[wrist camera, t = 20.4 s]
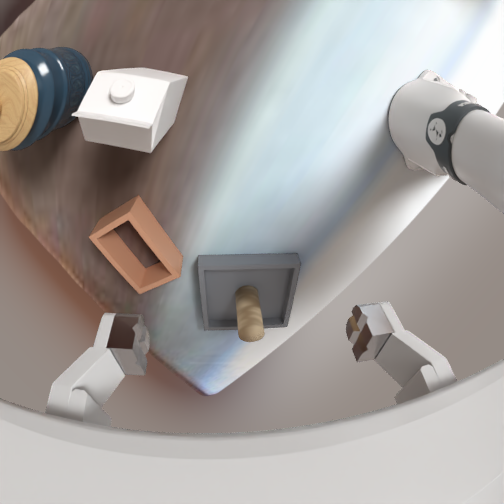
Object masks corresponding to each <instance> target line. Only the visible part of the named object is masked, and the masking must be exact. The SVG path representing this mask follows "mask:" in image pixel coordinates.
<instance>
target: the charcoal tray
mask: <svg viewBox="0 0 504 504" xmlns="http://www.w3.org/2000/svg"><path fill="white" fill-rule="evenodd" d="M300 266H301V262H300V260H299V257H298V254H297V253H286V254H235V255H199V256H198V274H199V285H200V295H201V305H202V314H203V323H204V330H238V322H237V310H236V297H235V292H236V290H237V289H238V288H240V287H242V286H247V285H249V286H253V287H255V288H256V289H257V290H258V295H259V302H260V308H261V314H262V321H263V327H264V328H278V327H287V326H288V321H289V317H290V312H291V308H292V303H293V299H294V294H295V290H296V285H297V280H298V275H299V270H300Z"/></svg>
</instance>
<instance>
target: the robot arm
mask: <svg viewBox="0 0 504 504" xmlns="http://www.w3.org/2000/svg"><path fill="white" fill-rule="evenodd" d="M434 78H435V81H434ZM476 102H477V99H476V98H475V97H473V96H472V95H470V94H466V92H465V91H463V90H461V89H457V88H455V87H454V86H453V85H451V84H450V83H449V82H447V81H446V80H445V79H443V78H442V77H440V76H439V75H438V74H436V73H435V72H433V71H431V70H425V71H424V72H423V73H422V74H421V75H420V76H419V78H417V79H416V80H414V81H411V82H409V83H407V84H405V85H404V86H402V87H401V88H400V89H399V90H398V92H397V93H396V95H395V96H394V98H393V100H392V103H391V106H390V110H389V129H390V134H391V137H392V139H393V141H394V143H395V145H396V146H397V147H398V149H399V150H400V151H401V152H402V154H403V155H404V159H405V162H406V165H407V167H408V168H409V169H411V170H427V171H428V172H430V173H432V174H433V175H435V176H437V177H439V176H440V175H442V176H444V175H449V176H450V177H451V178H452V179H454V180H455V181H458V182H459V183H461V184H463V185H468V186H469V187H471V188H472V189H473V190H474V191H476V192H477V193H478V194H480V195H481V196H482V197H484V198H485V199H486V200H487V201H488V202H490V203H491V204H492V205H493V206H494V207H495V208H496V209H498V210H499V211H500V212H502V213H503V214H504V119H502V118H500V117H498V116H496V115H493V114H491V113H490V112H489V111H488V110H487V109H485V108H484V107H482V106H480V105H479V104H476ZM352 313H353V316H352V317H350V318H349V319H348V322H347V324H346V333H347V337H348V340H349V341H350V342H351V343H353V344H354V345H353V348H352V350H353V353H354V356H355V358H356V361H357V362H362V361H368V360H374V359H375V362H377V363H378V364H379V365H380V366H381V367H382V368H383V369H384V370H385V371H386V372H387V373H388V374H389V375H390V376H391V377H392V378H393V379H394V380H395V381H396V382H397V383H398V384H399V385H400V386H401V387H402V389H401V390H400V391H399V392H398V393H397V394H396V396H395V400H396V402H397V404H396V405H393V406H390V407H387V408H383V409H380V410H376V411H372V412H368V413H364V414H360V415H356V416H352V417H348V418H343V419H339V420H334V421H329V422H323V423H318V424H312V425H306V426H299V427H292V428H285V429H277V430H268V431H257V432H242V433H217V434H189V433H165V432H151V431H139V430H130V429H123V428H116V427H111V418H110V416H109V415H108V414H107V413H106V412H105V411H104V410H103V409H102V408H101V407H102V406H103V405H104V403H105V402H106V400H107V399H108V398H109V397H110V395H111V394H112V393H113V391H114V390H115V389H116V387H117V386H118V385H119V383H120V382H121V380H122V379H123V378H124V377H125V375H126V374H127V375H145V374H146V367H147V359H146V357H145V354H146V353H147V352H148V351H149V333H148V329H147V328H146V327H145V326H144V318H143V315H140V314H121V313H104V315H103V316H102V319H101V322H100V326H99V328H98V332H97V335H96V339H95V342H94V346H93V347H89V348H88V349H87V350H86V351H85V352H84V353H83V354H82V355H81V356H80V357H79V358H78V359H77V360H76V361H75V362H74V363H73V364H72V365H71V366H70V367H69V368H68V369H67V370H66V371H65V372H64V373H63V374H62V375H61V376H60V377H59V378H58V379H56V380H55V381H54V382H53V384H52V387H51V391H50V395H49V399H48V403H47V407H46V412H45V413H44V412H40V411H37V410H33V409H30V408H27V407H24V406H21V405H18V404H15V403H12V402H9V401H6V400H3V399H1V398H0V504H504V359H503V360H500V361H498V362H497V363H495V364H493V365H491V366H489V367H487V368H485V369H483V370H481V371H479V372H477V373H475V374H473V375H471V376H469V377H467V378H464V379H462V380H460V381H457V379H456V377H455V375H454V373H453V371H452V369H451V367H450V365H449V363H448V361H447V359H446V358H445V357H444V356H443V355H441V354H440V353H438V352H437V351H436V350H434V349H433V348H432V347H430V346H429V345H427V344H426V343H425V342H423V341H422V340H420V339H419V338H418V337H416V336H415V335H413V334H412V333H410V332H409V331H408V330H407V331H405V330H404V328H403V326H402V324H401V323H400V321H399V319H398V317H397V315H396V313H395V311H394V309H393V308H392V306H391V304H390V303H389V302H380V303H370V304H363V305H356V306H355V307H354V308H353V310H352Z"/></svg>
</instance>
